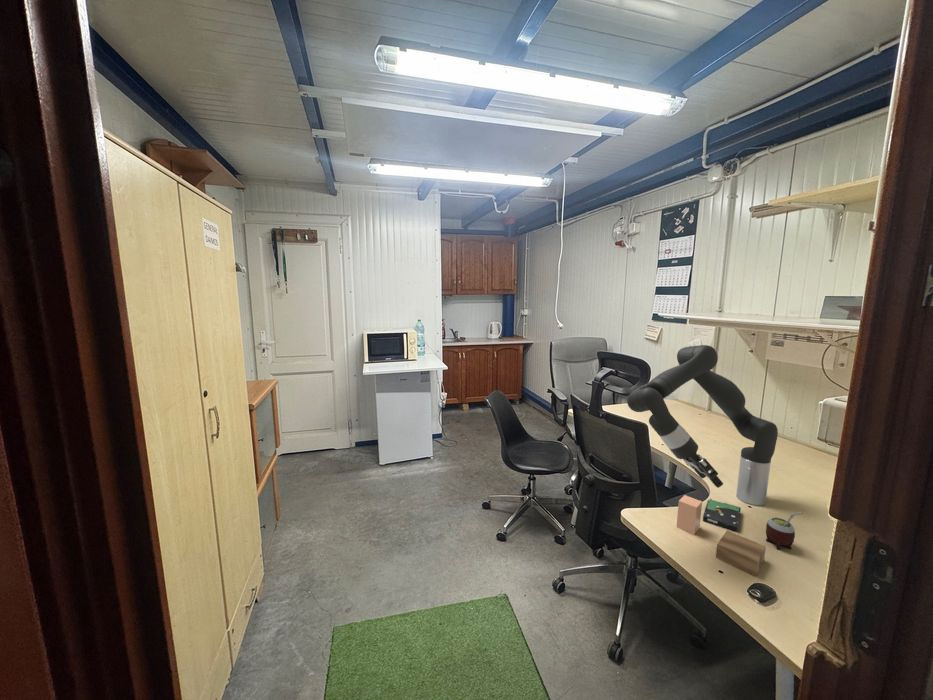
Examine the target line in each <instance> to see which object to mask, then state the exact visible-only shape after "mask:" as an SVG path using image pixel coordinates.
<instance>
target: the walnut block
mask: <svg viewBox="0 0 933 700" xmlns="http://www.w3.org/2000/svg"><path fill="white" fill-rule="evenodd" d="M765 555H766V545H764V544H762V543H758V542H757V541H754V540H752V539H749V538H747V537H744V536H742V535H739V534H736V533H735V532H733V531H731V530H726V531H725V532H724V533H723V535H722V537H721V538H720V540H719V541H718V542H717V544H716V550H715V559H718V560H719V561H721V562H724V563H726V564H728V565H731V566H732V567H734V568H737V569H739V570H740V571H743V572H744V573H748V574H749V575H752V576H753V577H757V575H758V573H759V571H760V569H761V567H762V565H763V563H764V562H765Z"/></svg>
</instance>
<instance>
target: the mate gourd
mask: <svg viewBox="0 0 933 700" xmlns="http://www.w3.org/2000/svg"><path fill="white" fill-rule="evenodd" d="M801 514H804V513H803V512H793V513H791V514H790V515H789V517H788V519H787V520H786V519H784V518H781V517H771V518H770V519H768V520H767V522H766V524H765V525H766V526H765V527H766V528H765V536H766V539H765V542H768V543H771V544H773V545H775V546H776V550H778V551H780V550H781V547H782V548H784V549H788V550H792V546H793V544H794V542H795V538H796V533H795V530H796V529H795V528H794V525H792V523H791V520H792V518H794V517H795V516H797V515H801Z"/></svg>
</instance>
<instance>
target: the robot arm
mask: <svg viewBox="0 0 933 700" xmlns="http://www.w3.org/2000/svg"><path fill="white" fill-rule="evenodd" d="M718 357H719V356H718V353H717V350H716V349H715V348H714V347H713V346H711V345H707V344H700V345H691V346H684V347H682V348H680V349H679V350H678V352H677V353H676V360H677V363H678V365H676V366H674V367H670V368H668V369H666V370H665V371H663V372H660V373H659V374H658V375H656V376H655V377H654V378H652V379H650V381H648V382H647V383H645V384H643V385H642V386H640V387H637V388H635V389H634V390H632V391H631V392H630V394H628V396H627V399H626V402H627V406H628V407H629V409H630V410H631V411H633V412H635V413H643V412H647V411H650V413H651V414H652V415H650V416H649V418H648V422H649V423H648V424H649V425H650V426H651V428H652V429H653V430H654V431H655V432H656V434H657V435H658V436H659V437H660V440H662V442H663V443H664V444H665V445H666V447H667V448H668V449H669V451H670V452H671V453H672V454H673V455H674V456H675V457H676V458H677V459H678V460H683V461H684V463H686V465H687V466H688V467H690V469H691V470H694V472H695V473H696V474H697V475H698V477H700V478H701V479H705V478H707V479H709V480H710V482H711V483H712V484H713V485H714V486H715V487H716V488H721V487H722V486H723V485H724V482H723V481H722V480H721V479H720V478H719V477H718V475H719V472H718V471H717V470H716V469H715V468H714V467H713V466H712V465H711V463H710V462H709V461H708V460H707V459H706V458H705V457H703V456H702V455H701V454H699V453H698V454H697V452H698V450H699V445H698V443H697V442H696V441H695V440H694V439H693V437H692V436H691V435H690V434H689V433H688V432H687V429H685V428H684V427H683V426H682V425H681V424H680V423H679V422H678V421H677V419H675V417H674V416H673V415H672V414H671V412H670V410H669V408H668V406H667V404H666V402H665V400H664V399H665V398H668V396H670V395H671V394H673V393H674V392H675V391H677V389H678V388H680V387H682V386H683V385H685V384H686V383H688V382H690V381H692V380H694V381H695V382H696V383H697V384H698V385H699V386H700V387H701V388H702V389H703V390H704V391H705V392H706V393H707V394H708V396H709V397H710V399H711V400H712V401H713V402H714V403H715V404H716V405H717V406H718V407H719V409H721V410H722V411H723V413H724V414H725V415H726V416H727V417H728V419H729V420H730V421H731V422H732V424H733V425H734V427H735V428H736V430H737V432H738V433H739V434H740V435H741V436H742V437H744V438H745V439H747V440H748V441H749V440H750V441H752V442H754V445H753V446H746V447H742V449H741V450H740V458H739V469H738V477H737V487H736V494H735V495H736V497H737V499H738V500H740V501H742V502H744V503H747V504H748V505H752V506H764V505H766V502H767V495H768V486H769V479H770V478H769V477H770V470H771V463H772V458H773V456H774V454H775V449H776V445H777V440H778V435H779V430H778V426H777V425H776V424H775V423H774V422H772V421H769V420H766V419H763V418H760V417H757V416H755V415H753V414H752V413H751V412H749V410H748V409H747V408H746V407H745V406H746V397H745V395H744V393H743V391H741V389H740V388H739V387H738V386H737V385H736V384H735V383H734V382H733V381H731V380H730V379H728V378H726V377H724V376H723V375H720V374H718V373H716V372H714V371H712V370H713V369H714V368H715V367H716V366H717V363H718V359H719V358H718Z"/></svg>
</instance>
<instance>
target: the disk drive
mask: <svg viewBox="0 0 933 700" xmlns="http://www.w3.org/2000/svg"><path fill="white" fill-rule="evenodd" d="M740 517H741V507H739V506H736V505H733V504H729V503H727V502H721V501H718V500H713V499H712V498H710V499H708V500H707V502H706V506H705V509H704V511H703V515H702V522H704V523H707V524H710V525H713V526H716V527H720V528H722V529H725V530H727V531H730V532H733V533H738V531H739V523H740Z"/></svg>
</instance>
